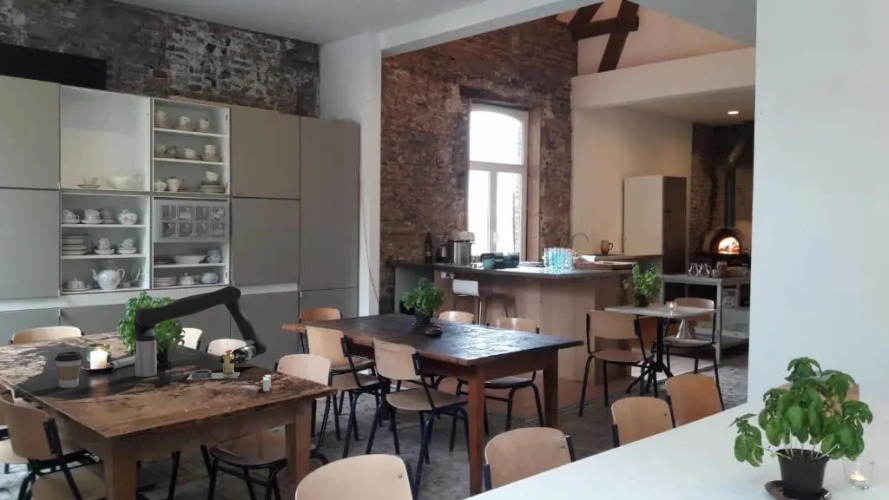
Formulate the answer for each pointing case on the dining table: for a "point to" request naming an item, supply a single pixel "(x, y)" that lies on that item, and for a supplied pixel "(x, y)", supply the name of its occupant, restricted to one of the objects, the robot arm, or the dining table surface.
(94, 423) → the dining table surface
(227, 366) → the brass valve
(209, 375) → the manifold plate
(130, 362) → the grey long cylinder
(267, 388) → the napkin holder
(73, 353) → the coffee cup
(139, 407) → the dining table surface
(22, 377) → the dining table surface
